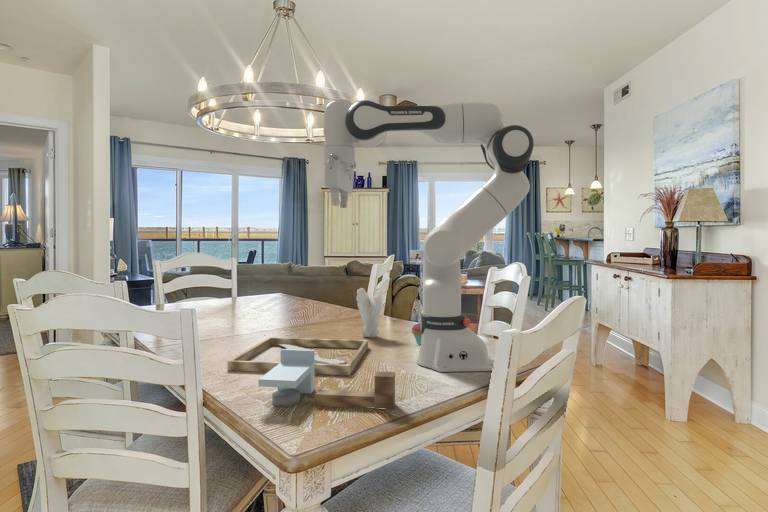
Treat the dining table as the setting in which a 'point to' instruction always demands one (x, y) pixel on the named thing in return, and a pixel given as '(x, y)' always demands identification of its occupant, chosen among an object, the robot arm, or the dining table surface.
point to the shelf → (292, 372)
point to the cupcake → (417, 331)
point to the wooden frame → (335, 369)
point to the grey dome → (286, 397)
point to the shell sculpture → (369, 311)
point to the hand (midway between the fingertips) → (339, 207)
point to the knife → (316, 356)
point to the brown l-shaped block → (362, 394)
